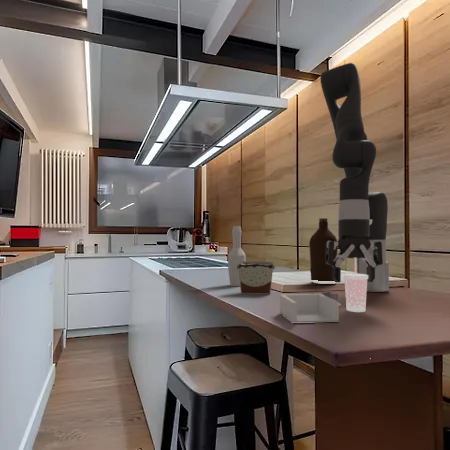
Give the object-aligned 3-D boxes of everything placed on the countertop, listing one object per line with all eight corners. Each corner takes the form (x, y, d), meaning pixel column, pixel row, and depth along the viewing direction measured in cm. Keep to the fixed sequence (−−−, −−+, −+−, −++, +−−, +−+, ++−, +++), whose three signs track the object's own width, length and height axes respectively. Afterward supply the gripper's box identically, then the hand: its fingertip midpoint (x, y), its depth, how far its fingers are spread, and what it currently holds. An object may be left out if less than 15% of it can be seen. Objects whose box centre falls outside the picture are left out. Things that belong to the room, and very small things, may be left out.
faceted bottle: (234, 283, 142) (234, 226, 142) (248, 285, 138) (248, 225, 139) (224, 285, 137) (224, 225, 137) (239, 287, 133) (239, 225, 134)
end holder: (321, 312, 92) (321, 293, 92) (338, 322, 81) (338, 301, 81) (280, 313, 91) (280, 294, 91) (292, 324, 80) (292, 302, 80)
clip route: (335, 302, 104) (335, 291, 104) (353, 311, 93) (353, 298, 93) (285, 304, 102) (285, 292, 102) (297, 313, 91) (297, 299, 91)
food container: (274, 291, 125) (274, 261, 125) (275, 294, 119) (274, 262, 119) (237, 290, 126) (237, 260, 126) (236, 293, 120) (236, 262, 120)
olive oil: (342, 283, 144) (341, 218, 145) (331, 286, 136) (330, 217, 136) (316, 280, 151) (316, 219, 151) (304, 283, 142) (304, 218, 143)
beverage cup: (374, 311, 93) (373, 255, 93) (352, 313, 91) (352, 256, 91) (358, 307, 98) (358, 254, 99) (338, 308, 97) (338, 254, 97)
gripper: (373, 219, 100) (373, 280, 99) (321, 218, 98) (321, 280, 98) (388, 218, 92) (388, 283, 92) (332, 217, 91) (332, 284, 90)
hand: (353, 281), depth 95 cm, fingers open, 8 cm apart
